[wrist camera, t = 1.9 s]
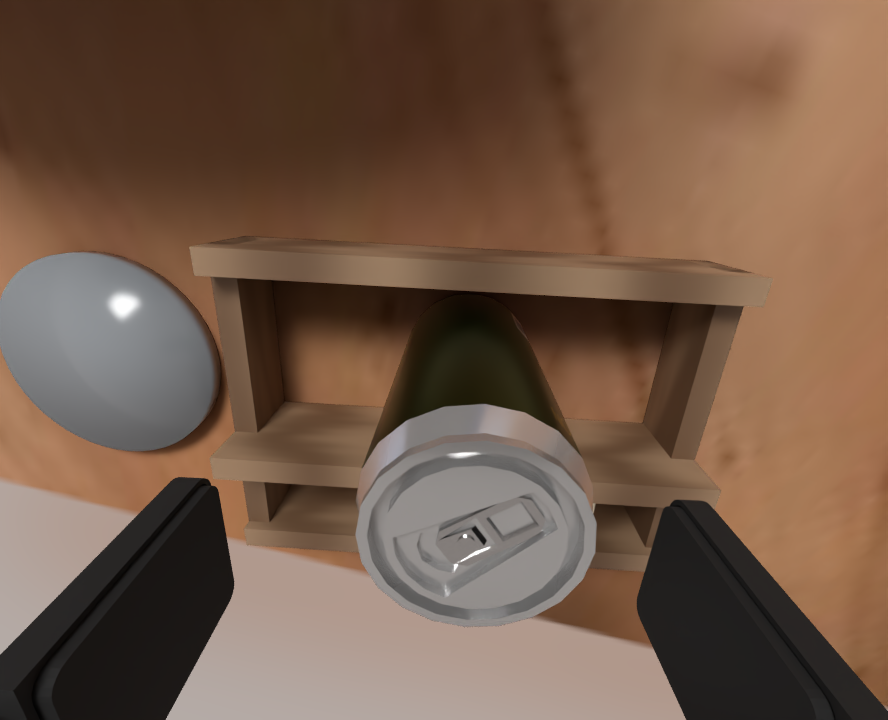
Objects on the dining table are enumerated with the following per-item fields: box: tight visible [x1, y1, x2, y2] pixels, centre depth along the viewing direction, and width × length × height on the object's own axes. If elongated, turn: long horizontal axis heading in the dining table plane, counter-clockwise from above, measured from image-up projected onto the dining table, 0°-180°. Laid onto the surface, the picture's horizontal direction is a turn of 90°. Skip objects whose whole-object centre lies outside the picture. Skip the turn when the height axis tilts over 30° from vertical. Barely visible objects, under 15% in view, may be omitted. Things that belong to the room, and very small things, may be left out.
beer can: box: [355, 294, 597, 627], centre depth 14 cm, size 5×5×12 cm
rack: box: [189, 236, 773, 572], centre depth 18 cm, size 20×14×5 cm
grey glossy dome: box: [0, 251, 221, 451], centre depth 20 cm, size 10×10×1 cm
